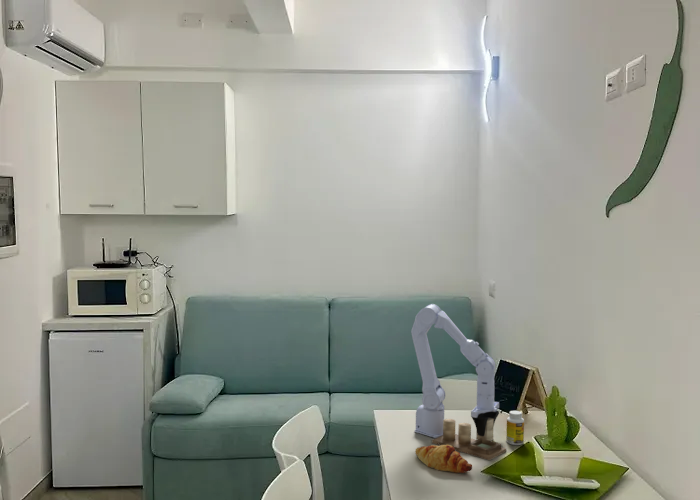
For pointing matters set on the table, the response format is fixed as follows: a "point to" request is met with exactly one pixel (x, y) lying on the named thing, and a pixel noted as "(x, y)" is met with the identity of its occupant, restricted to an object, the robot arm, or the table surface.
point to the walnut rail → (465, 447)
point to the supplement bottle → (515, 428)
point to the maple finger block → (487, 430)
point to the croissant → (443, 458)
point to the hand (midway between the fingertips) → (484, 433)
